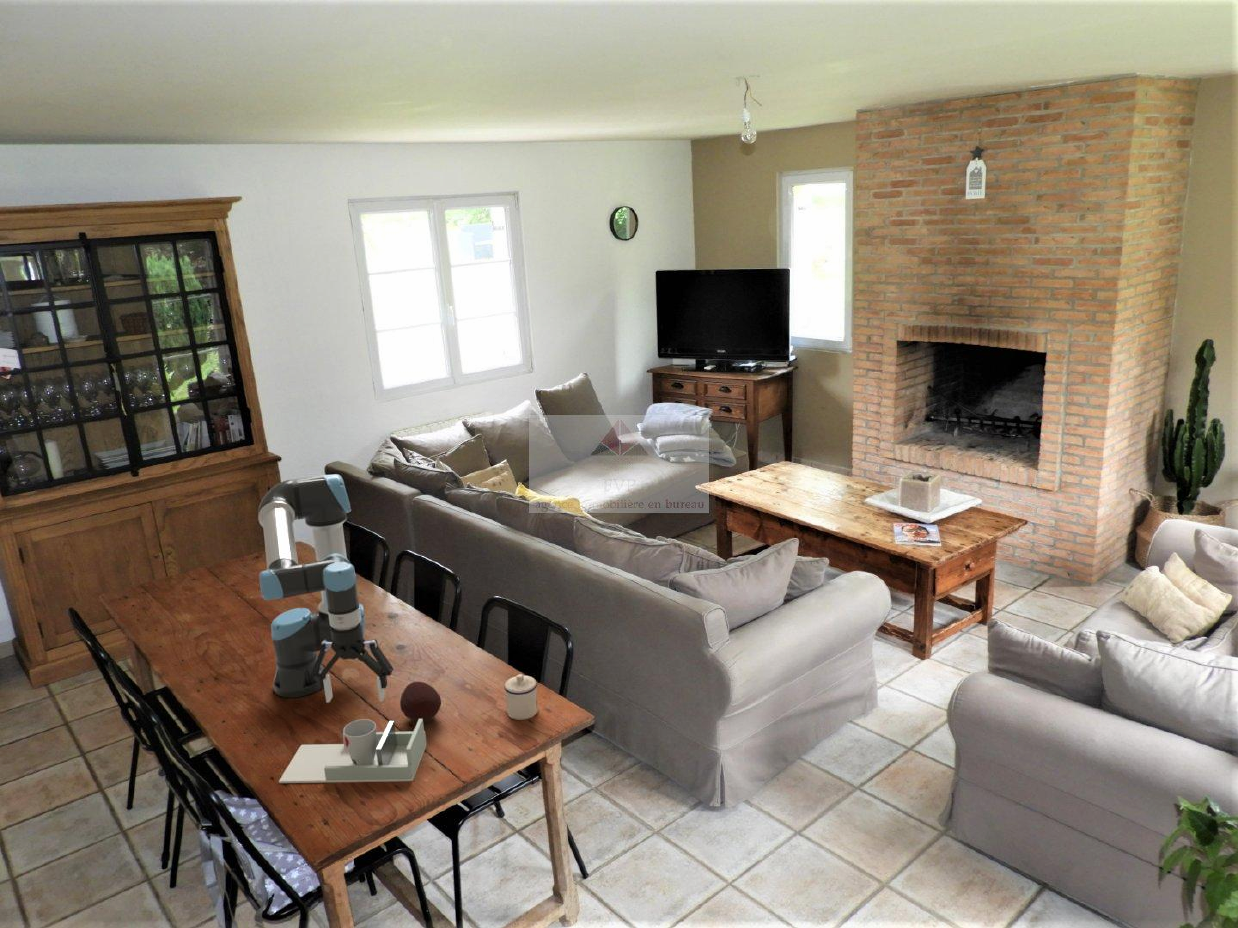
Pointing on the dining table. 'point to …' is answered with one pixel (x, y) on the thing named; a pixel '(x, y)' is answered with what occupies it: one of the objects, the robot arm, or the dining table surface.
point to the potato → (420, 702)
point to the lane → (339, 767)
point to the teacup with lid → (521, 697)
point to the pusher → (387, 745)
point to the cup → (361, 741)
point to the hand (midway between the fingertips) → (356, 699)
